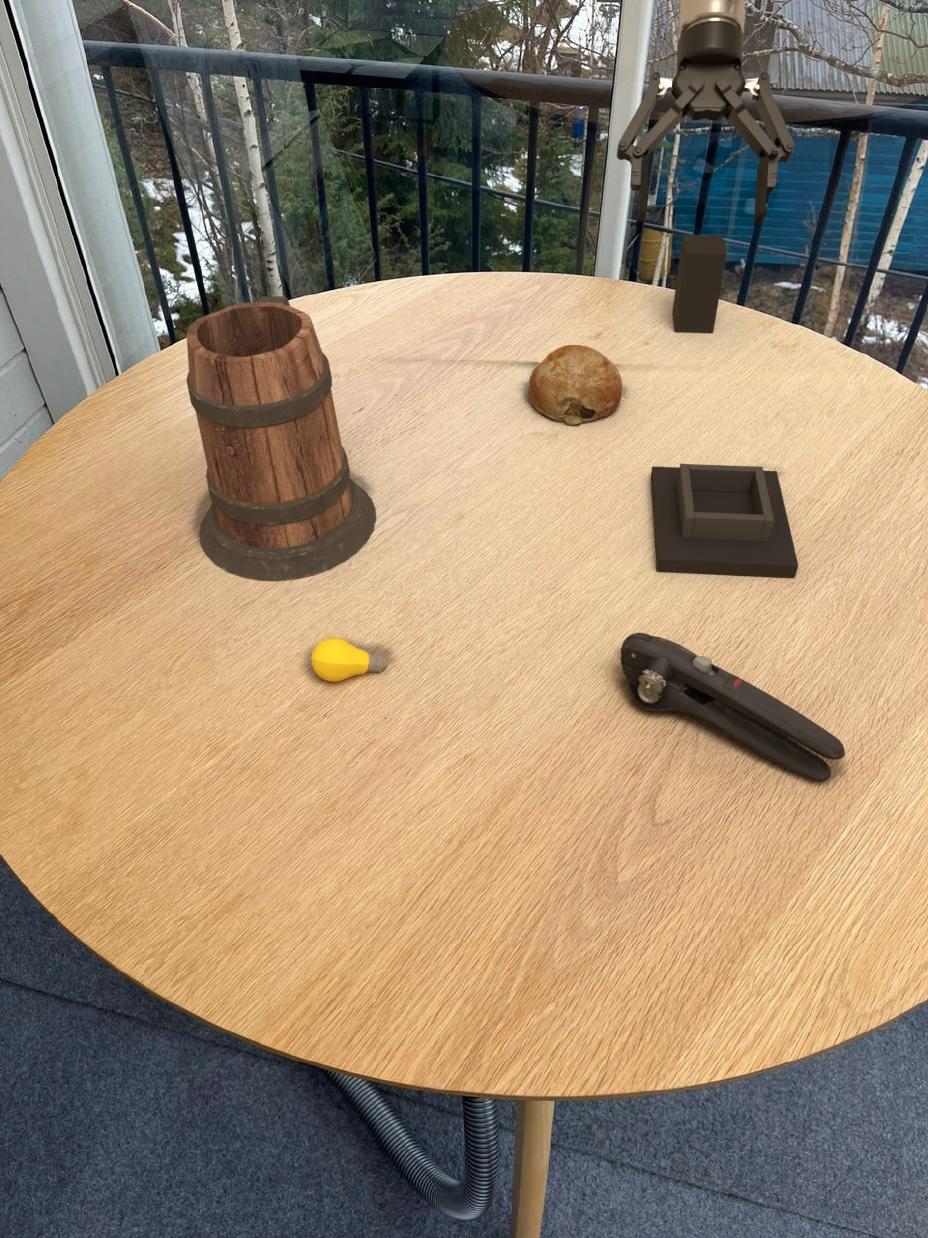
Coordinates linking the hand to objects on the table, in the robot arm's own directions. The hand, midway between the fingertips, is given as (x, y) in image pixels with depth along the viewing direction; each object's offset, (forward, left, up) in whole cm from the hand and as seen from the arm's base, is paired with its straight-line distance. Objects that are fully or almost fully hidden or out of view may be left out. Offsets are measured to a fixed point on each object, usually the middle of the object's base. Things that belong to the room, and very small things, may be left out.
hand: (700, 217), depth 110 cm
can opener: (+2, +67, -12) cm, 68 cm away
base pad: (0, +43, -12) cm, 45 cm away
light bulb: (+31, +64, -12) cm, 72 cm away
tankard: (+41, +42, -12) cm, 60 cm away
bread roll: (+14, +22, -12) cm, 29 cm away
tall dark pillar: (0, +6, -12) cm, 13 cm away
